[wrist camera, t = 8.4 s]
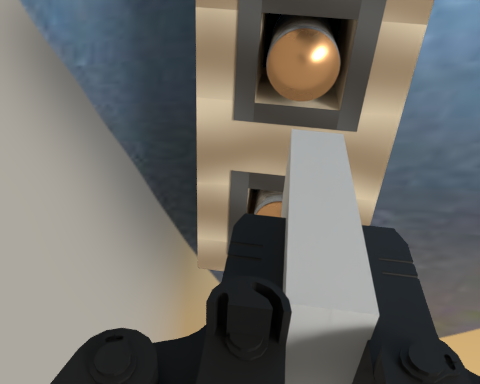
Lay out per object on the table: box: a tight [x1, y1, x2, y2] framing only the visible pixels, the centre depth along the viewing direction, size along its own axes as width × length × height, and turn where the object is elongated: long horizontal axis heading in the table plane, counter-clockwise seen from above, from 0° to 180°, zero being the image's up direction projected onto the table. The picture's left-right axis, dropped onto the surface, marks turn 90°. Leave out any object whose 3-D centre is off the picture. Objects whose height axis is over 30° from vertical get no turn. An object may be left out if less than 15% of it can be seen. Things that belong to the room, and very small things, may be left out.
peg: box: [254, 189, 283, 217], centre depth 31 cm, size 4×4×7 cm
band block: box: [196, 0, 434, 271], centre depth 29 cm, size 22×12×7 cm, turn 177°
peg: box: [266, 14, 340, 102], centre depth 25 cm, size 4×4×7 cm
